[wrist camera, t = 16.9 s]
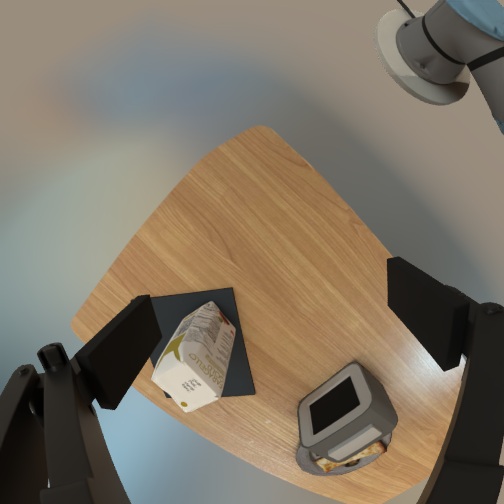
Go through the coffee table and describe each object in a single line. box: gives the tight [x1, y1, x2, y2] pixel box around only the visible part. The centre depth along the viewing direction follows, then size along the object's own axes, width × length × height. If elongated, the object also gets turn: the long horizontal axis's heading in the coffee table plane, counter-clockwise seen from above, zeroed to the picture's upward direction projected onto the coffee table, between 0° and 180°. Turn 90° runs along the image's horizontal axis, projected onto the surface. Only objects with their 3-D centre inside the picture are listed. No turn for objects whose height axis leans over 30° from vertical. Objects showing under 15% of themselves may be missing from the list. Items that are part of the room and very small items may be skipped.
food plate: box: [296, 432, 392, 476], centre depth 56 cm, size 25×23×4 cm
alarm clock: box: [297, 362, 398, 463], centre depth 46 cm, size 16×11×16 cm
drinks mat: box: [131, 288, 255, 398], centre depth 53 cm, size 24×20×1 cm
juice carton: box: [151, 301, 236, 413], centre depth 41 cm, size 8×9×19 cm
